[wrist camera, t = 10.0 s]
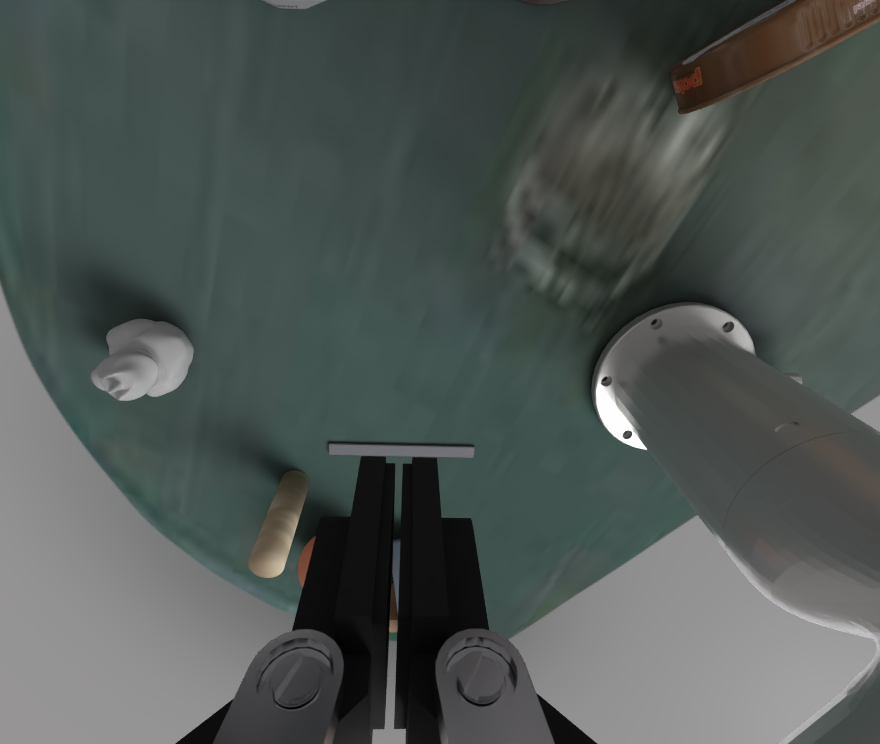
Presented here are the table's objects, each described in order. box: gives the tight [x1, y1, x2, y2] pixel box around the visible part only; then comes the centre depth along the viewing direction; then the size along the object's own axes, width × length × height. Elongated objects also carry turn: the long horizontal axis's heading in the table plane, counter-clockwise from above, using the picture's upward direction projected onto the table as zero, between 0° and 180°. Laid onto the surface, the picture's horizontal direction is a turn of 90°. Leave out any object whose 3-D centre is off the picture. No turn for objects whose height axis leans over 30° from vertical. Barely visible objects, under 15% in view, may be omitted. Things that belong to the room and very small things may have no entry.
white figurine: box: [91, 319, 194, 401], centre depth 32 cm, size 5×7×8 cm
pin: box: [392, 538, 400, 612], centre depth 42 cm, size 2×2×9 cm
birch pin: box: [248, 470, 310, 578], centre depth 37 cm, size 2×2×9 cm
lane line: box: [329, 443, 474, 458], centre depth 40 cm, size 12×1×1 cm, turn 86°
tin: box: [670, 0, 880, 114], centre depth 25 cm, size 15×3×8 cm, turn 117°
